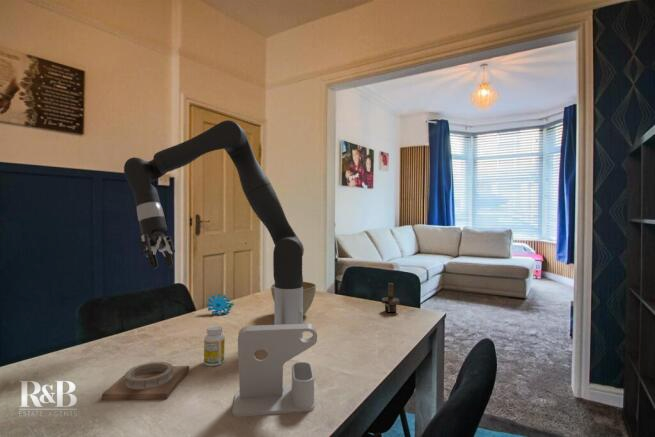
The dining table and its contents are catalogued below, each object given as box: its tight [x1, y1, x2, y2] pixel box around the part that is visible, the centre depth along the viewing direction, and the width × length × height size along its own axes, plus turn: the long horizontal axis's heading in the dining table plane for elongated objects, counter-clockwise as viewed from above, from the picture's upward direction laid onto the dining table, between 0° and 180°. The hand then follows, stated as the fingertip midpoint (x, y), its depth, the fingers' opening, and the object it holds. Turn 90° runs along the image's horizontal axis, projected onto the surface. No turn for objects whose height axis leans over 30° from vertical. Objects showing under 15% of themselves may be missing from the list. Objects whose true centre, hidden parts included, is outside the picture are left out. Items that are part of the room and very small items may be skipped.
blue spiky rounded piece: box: [206, 293, 235, 317], centre depth 145 cm, size 11×6×10 cm
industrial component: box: [381, 282, 400, 313], centre depth 148 cm, size 9×7×12 cm
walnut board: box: [101, 361, 190, 401], centre depth 84 cm, size 14×14×3 cm
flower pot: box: [270, 281, 317, 316], centre depth 142 cm, size 18×18×12 cm
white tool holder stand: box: [231, 323, 318, 417], centre depth 77 cm, size 17×10×18 cm, turn 99°
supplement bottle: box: [203, 325, 226, 367], centre depth 97 cm, size 5×5×10 cm
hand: (163, 267), depth 111 cm, fingers open, 8 cm apart
